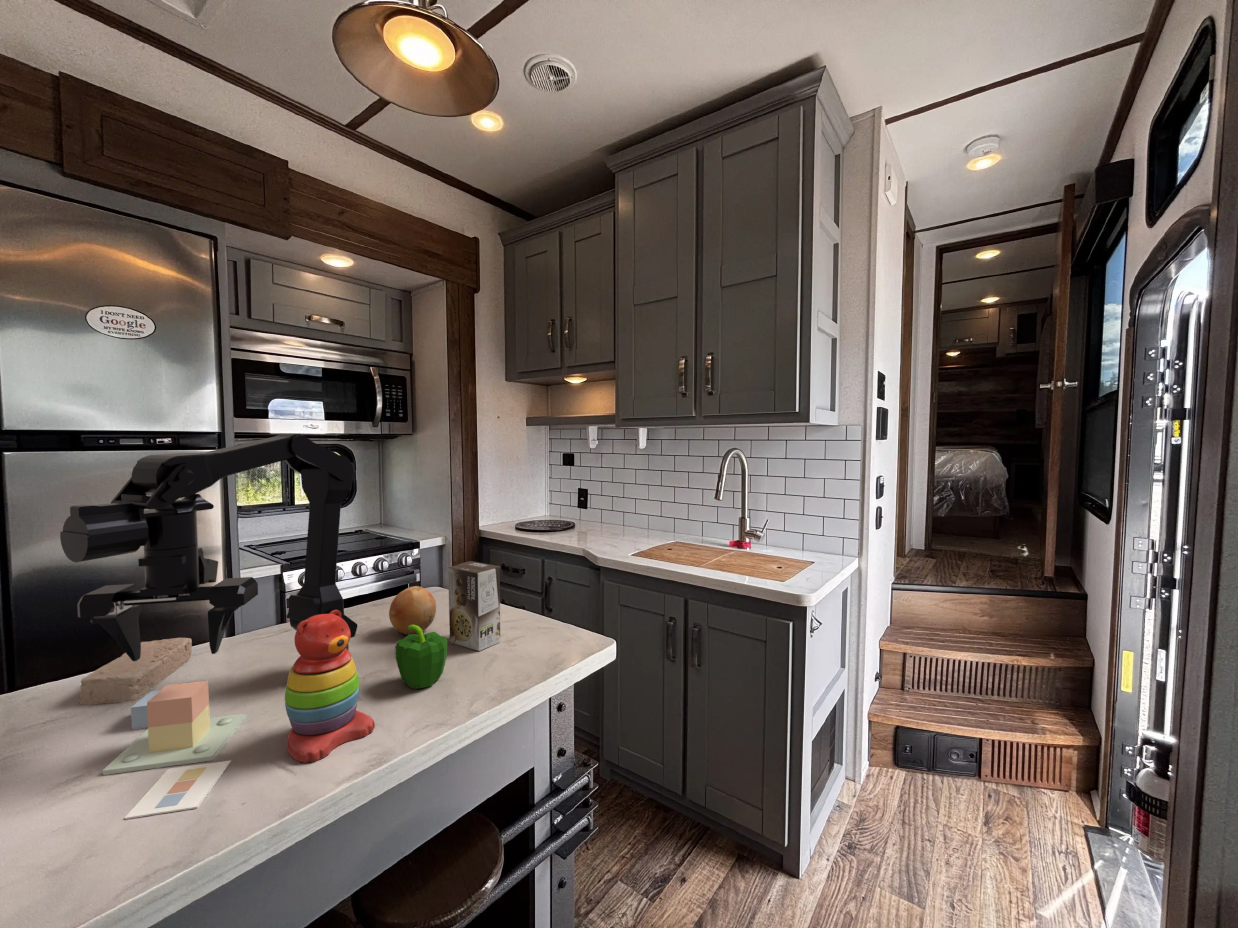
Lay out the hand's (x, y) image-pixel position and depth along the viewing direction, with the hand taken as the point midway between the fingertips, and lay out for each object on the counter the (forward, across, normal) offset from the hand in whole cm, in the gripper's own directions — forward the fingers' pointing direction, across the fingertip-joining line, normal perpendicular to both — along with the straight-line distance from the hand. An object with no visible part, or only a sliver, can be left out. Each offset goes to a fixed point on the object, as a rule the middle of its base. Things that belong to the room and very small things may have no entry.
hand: (176, 656), depth 74 cm
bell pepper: (+13, -31, -10) cm, 35 cm away
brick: (+13, +16, -24) cm, 32 cm away
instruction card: (+12, -5, +11) cm, 18 cm away
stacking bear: (+13, -19, +4) cm, 23 cm away
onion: (+13, -27, -36) cm, 47 cm away
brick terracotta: (+8, 0, 0) cm, 8 cm away
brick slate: (+13, +6, -8) cm, 16 cm away
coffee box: (+13, -40, -26) cm, 50 cm away
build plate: (+12, 0, 0) cm, 12 cm away
